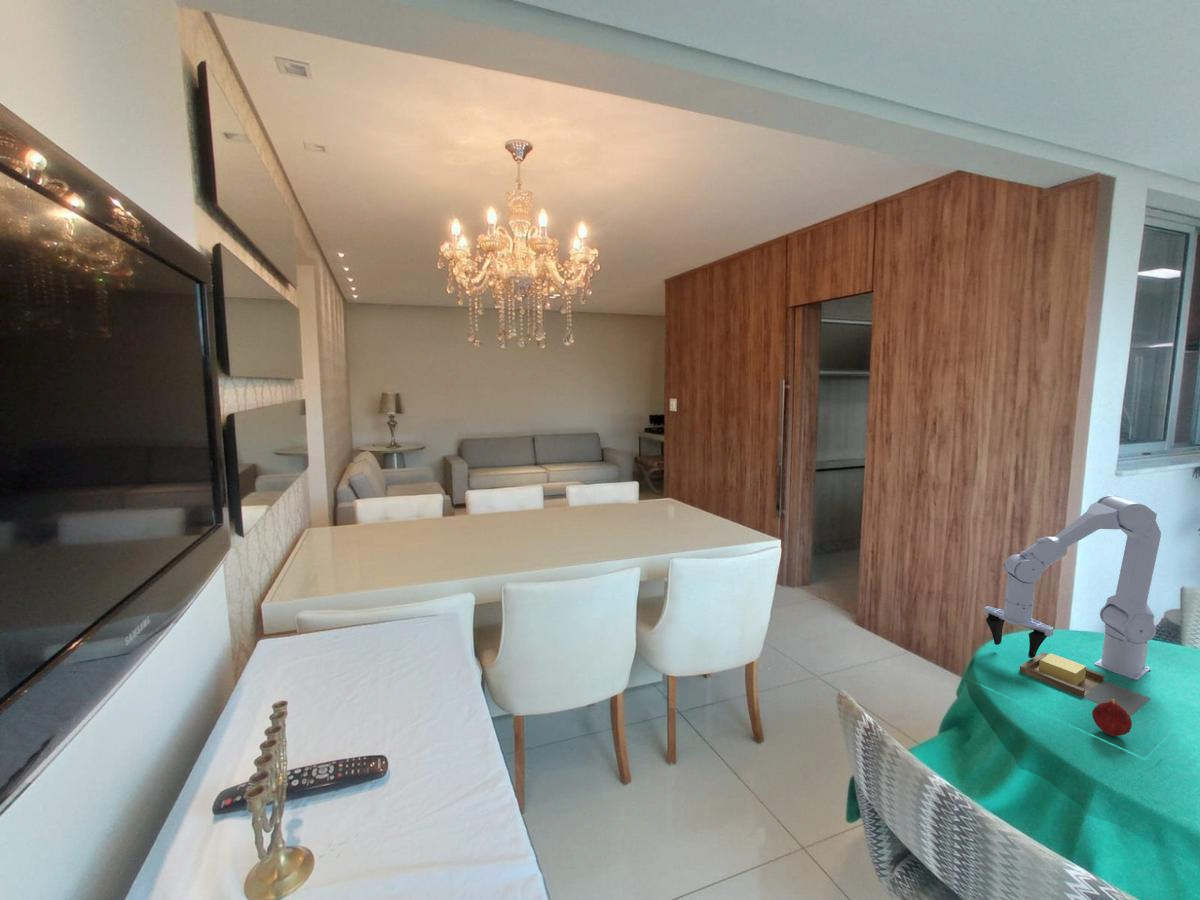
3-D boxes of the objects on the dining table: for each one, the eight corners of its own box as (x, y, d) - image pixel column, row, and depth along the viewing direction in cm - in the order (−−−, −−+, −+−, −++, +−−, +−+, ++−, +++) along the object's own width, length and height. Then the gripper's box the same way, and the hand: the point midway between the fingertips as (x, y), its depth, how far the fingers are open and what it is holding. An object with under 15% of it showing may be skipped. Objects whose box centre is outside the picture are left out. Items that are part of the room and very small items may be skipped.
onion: (1137, 746, 104) (1142, 710, 103) (1103, 743, 105) (1108, 707, 104) (1115, 727, 110) (1119, 692, 108) (1083, 724, 111) (1087, 690, 110)
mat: (1104, 681, 125) (1104, 680, 125) (1150, 699, 118) (1150, 698, 118) (1082, 698, 119) (1082, 697, 119) (1130, 717, 112) (1130, 716, 112)
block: (1049, 665, 132) (1050, 653, 132) (1084, 679, 126) (1086, 666, 125) (1038, 672, 129) (1039, 659, 129) (1074, 687, 123) (1075, 673, 123)
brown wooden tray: (1042, 658, 136) (1042, 652, 136) (1103, 681, 125) (1104, 674, 125) (1019, 672, 130) (1019, 665, 130) (1082, 698, 119) (1082, 691, 119)
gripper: (979, 594, 138) (975, 642, 140) (1046, 616, 126) (1041, 667, 128) (993, 589, 142) (988, 635, 144) (1059, 609, 129) (1053, 659, 131)
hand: (1014, 650), depth 136 cm, fingers open, 7 cm apart
